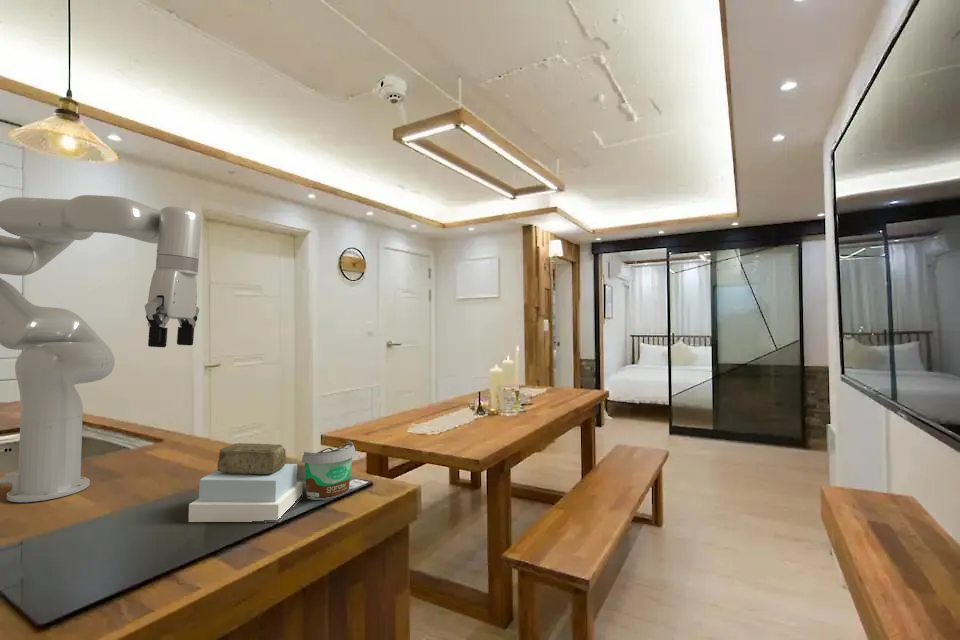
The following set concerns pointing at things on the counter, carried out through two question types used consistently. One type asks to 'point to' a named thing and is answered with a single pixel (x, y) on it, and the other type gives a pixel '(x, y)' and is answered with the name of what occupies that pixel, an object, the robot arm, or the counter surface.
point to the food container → (328, 471)
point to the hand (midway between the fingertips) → (171, 345)
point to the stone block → (251, 458)
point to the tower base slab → (243, 509)
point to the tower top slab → (247, 486)
